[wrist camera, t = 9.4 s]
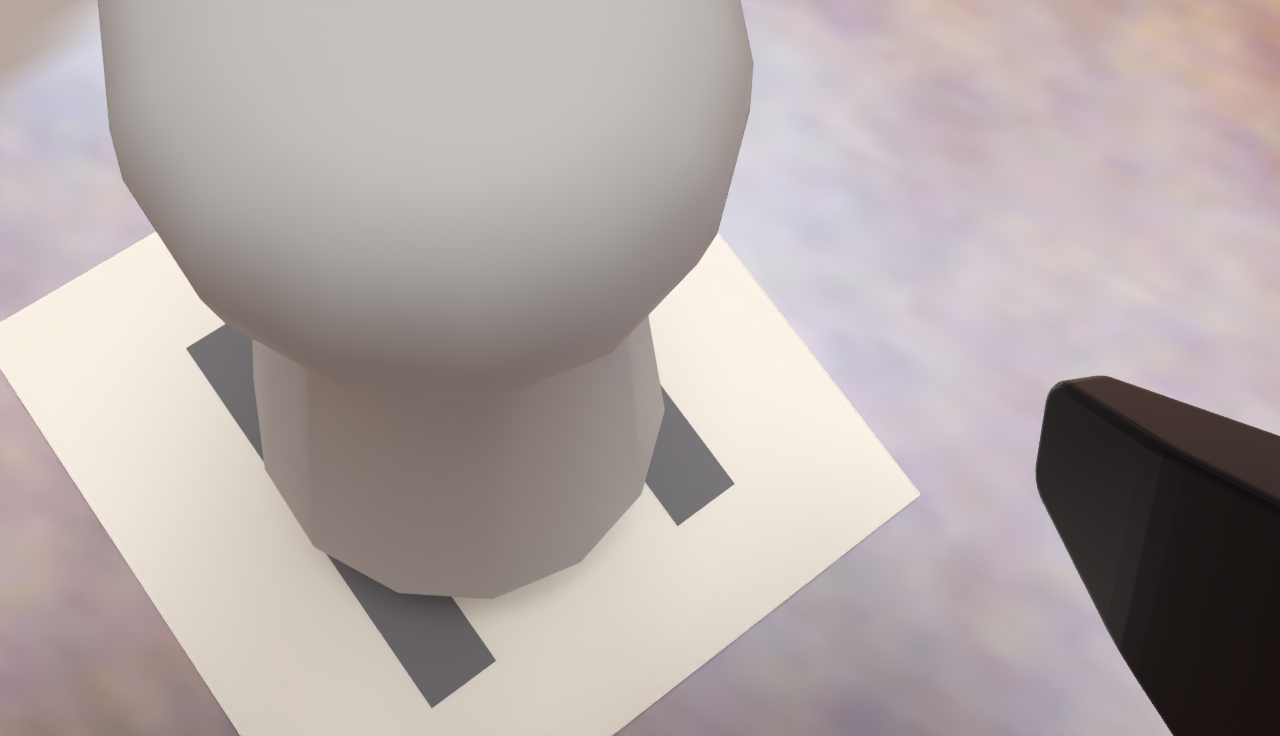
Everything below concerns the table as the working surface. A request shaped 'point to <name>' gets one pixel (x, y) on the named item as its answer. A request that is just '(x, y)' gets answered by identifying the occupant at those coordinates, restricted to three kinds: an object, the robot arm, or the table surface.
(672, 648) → the letter card
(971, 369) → the table surface
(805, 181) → the table surface
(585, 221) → the salt shaker
